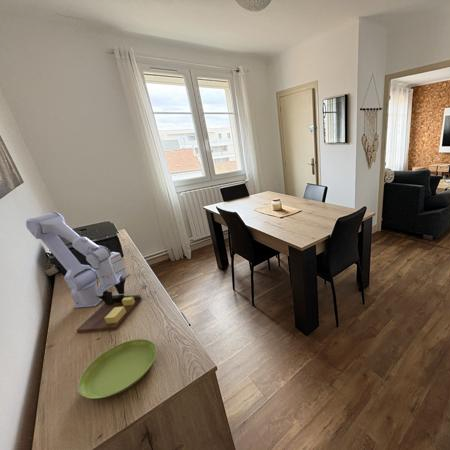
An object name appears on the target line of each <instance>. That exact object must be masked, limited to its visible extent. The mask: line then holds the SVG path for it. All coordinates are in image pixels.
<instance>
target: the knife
mask: <svg viewBox="0 0 450 450" xmlns="http://www.w3.org/2000/svg"><path fill="white" fill-rule="evenodd" d="M125 297H133V298H134V300H141V301H142V300H143V296H142V295H141V294H128V295H125V294H114V295H113V294H112V299H113V302H114V303H119V302H122V299H123V298H125ZM103 302H104V303H105V304H107V303H106V302H105V301H103Z"/></svg>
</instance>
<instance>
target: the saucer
mask: <svg viewBox="0 0 450 450" xmlns="http://www.w3.org/2000/svg"><path fill="white" fill-rule="evenodd" d="M156 356H157V346H156V343H154V342H153V341H152V340H150V339H147V338H146V339H145V338H137V339H131V340H128V341H124V342H121V343H119V344H117V345H115V346H113V347H111V348H109V349H107V350H106V351H104V352H103V353H101V354H100V355H99V356H98V357H96V358H95V359H94V360H93V361H92V362H91V363H90V364H89V365H88V366H87V367H86V368H85V370H84V371H83V373H82V374H81V375H80V377H79V380H78V384H77V391H78V394H80V396H82V398H86V399H90V400H91V399H92V400H101V399H107V398H110V397H113V396H116V395H119V394H121V393H123V392H125V391H127V390H128V389H130V388H131V387H133V386H134V385H135V384H137V383H138V382H139V381H140V380H141V379H142V378H144V376H145V375H146V374H147V373H148V371H149V370H150V369H151V367H152V365H153V364H154V362H155V359H156Z"/></svg>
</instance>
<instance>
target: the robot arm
mask: <svg viewBox="0 0 450 450" xmlns="http://www.w3.org/2000/svg"><path fill="white" fill-rule="evenodd" d="M25 227H26V229H27V230H28V231H29V232H30V233H31V235H32V236H33V237H34V238H35V239H36V240H40V241H41V242H42V244H44V246H45V247H46V248H47V249H48V250H49V251H50V253H52V255H53V256H54V257H55V258H56V260H57V261H58V262H59V263H60V264H61V265H62V267H63V268H64V269H65V270H66V273H65V275H64V277H63V280H64V281H65V283H66V286H67V288H69V289H70V290H71V292H70V296H71V299H72V300H73V302H74V304H75V306H74V308H75V309H77V308H88V307H96V306H98V305H99V304H100V303H101V302H102V301H103V302H104V301H105V302H106V303H107V304H108V305H113V304H114V302H113V299H112V296H113V291H108V290H109V289H110V288H112V287H114V288H115V289H116V292H117V293H118V295H125V284H126V280H127V279H126V277H125V278H122V277H123V274H122V273H118V274H117V275H115V272H114V270H113V267H112V265H111V262H110V260H109V257H110V256H111V250H110V249H108V248H107V247H106V246H104V245H100V244H96V243H95V242H93V240H91V239H89V238H88V237H86V236H80V235H79V234H78V233H77V232H76V231H75V230H74V229H72V228H71V227H70V226H69V225H68V224H67V223H66V219H65V218H64V216H63V215H62V214H61V213H60V212H57V211H51V212H49V213H45V214H41V215H38V216H35V217H30V218H27V219H26V221H25ZM58 235H59V236H58ZM60 237H62V238H63V239H65V240H66V241H68V242H70V243H72V245H71V246H72V248H73V249H75V250H76V251H78V252H79V253H80V254H82V255H83V256H84V257H85V260H86V262H87V263H89V264H90V265H89V264H82V263H81V262H80V261H79V260H78V258H77V257H76V256H75V255H74V254H73V253H72V251H71V249H69V248H68V246H67V245H66V244H65V243H64V241H62V239H61V238H60ZM98 280H99V282H100V285H99V286H98V283H97V282H98ZM105 302H104V303H105Z"/></svg>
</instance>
